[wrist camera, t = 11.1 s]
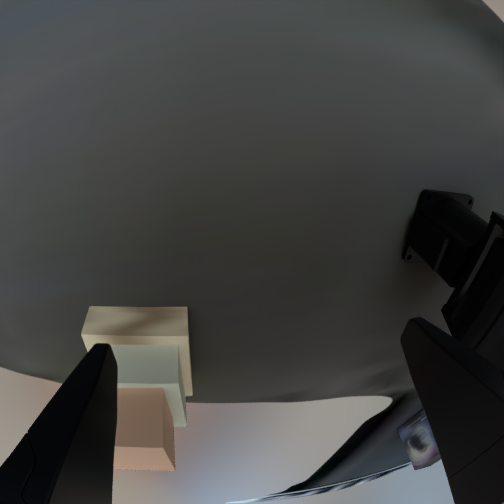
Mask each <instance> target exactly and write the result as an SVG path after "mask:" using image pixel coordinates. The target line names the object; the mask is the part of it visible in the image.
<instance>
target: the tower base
mask: <svg viewBox="0 0 504 504" xmlns="http://www.w3.org/2000/svg"><path fill="white" fill-rule="evenodd" d="M81 335H82V338H83V341H84V343H85V346H86V349H87V351H89V350H90V349H91V348H92V347H93V344H96V343H108V344H113V345H171V344H178V347H179V355H180V362H181V369H182V375H183V382H184V388H185V396H193V392H192V374H191V360H190V345H189V329H188V311H187V307H104V306H90V307H89V310H88V313H87V316H86V319H85V323H84V326H83V329H82V333H81Z"/></svg>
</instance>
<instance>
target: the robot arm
mask: <svg viewBox="0 0 504 504" xmlns="http://www.w3.org/2000/svg"><path fill="white" fill-rule="evenodd" d="M427 195H428V196H427ZM426 196H427V197H426ZM473 202H474V199H473V197H471V196H470V195H466V194H458V193H451V192H443V191H435V190H424V191H423V192H422V193H421V196H420V200H419V204H418V207H417V211H416V214H415V217H414V221H413V224H412V227H411V231H410V234H409V237H408V240H407V243H406V246H405V249H404V252H403V255H402V258H403V259H404V260H405V262H422V261H425V262H426V263H427V264H428V265H429V266H430V267H431V269H432V270H433V271H435V272H437V273H438V274H439V275H440V277H441V278H442V279H443V280H444V281H445V282H446V283H447V284H448V285H449V286H450V287H453V288H454V291H453V293H452V294H451V296H450V298H449V299H448V301H447V303H446V304H444V306H443V307H442V309H441V312H442V314H443V316H444V318H445V321H446V323H447V325H448V328H449V330H450V332H451V335H452V336H450V335H449V334H447V333H446V332H444V331H442V330H441V329H439V328H438V327H436V326H434V325H433V324H431V323H430V322H428V321H426V320H425V319H423V318H421V317H417V318H412V319H410V320H409V321H408V323H407V325H406V327H405V329H404V331H403V333H402V335H401V345H402V348H403V351H404V355H405V358H406V361H407V364H408V367H409V371H410V374H411V377H412V380H413V383H414V386H415V388H416V391H417V393H418V396H419V398H420V401H421V404H422V406H423V409H424V411H425V414H426V417H427V419H428V422H429V425H430V428H431V430H432V433H433V436H434V439H435V442H436V444H437V447H438V450H439V453H440V456H441V459H442V462H443V465H444V469H445V472H446V475H447V478H448V482H449V486H450V489H451V492H452V496H453V500H454V503H455V504H504V216H503V215H501V214H499V213H496V212H494V211H493V212H492V214H491V216H490V218H491V219H490V221H489V224H488V223H487V222H486V221H484V220H483V219H482V218H480V217H479V216H478V215H476V214H475V213H474V212H472V211H471V208H472V205H473ZM117 384H118V366H117V361H116V359H115V356H114V353H113V350H112V347H111V345H110V344H108V343H96V344H94V345H93V347H92V348H91V349H90V350H89V351H88V353H87V354H86V355H85V356H84V358H83V359H82V360H81V361H80V363H79V364H78V365H77V366H76V368H75V369H74V370H73V371H72V373H71V374H70V375H69V377H68V378H67V379H66V380H65V382H64V383H63V384H62V386H61V387H60V388H59V390H58V391H57V392H56V394H55V395H54V396H53V397H52V399H51V400H50V401H49V403H48V404H47V405H46V407H45V408H44V409H43V411H42V412H41V413H40V415H39V416H38V418H37V419H36V420H35V422H34V423H33V424H32V426H31V427H30V428H29V430H28V433H26V434H25V435H24V437H23V438H22V439H21V441H20V442H19V444H18V445H17V446H16V448H15V449H14V450H13V452H12V453H11V454H10V456H9V457H8V458H7V459H6V461H5V462H4V463H3V464H2V465H1V467H0V504H112V485H113V465H114V451H115V439H116V428H117Z"/></svg>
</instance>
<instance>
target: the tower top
mask: <svg viewBox="0 0 504 504" xmlns="http://www.w3.org/2000/svg"><path fill="white" fill-rule="evenodd" d="M93 345H94V344H93ZM110 345H111V347H112V350H113V353H114V356H115V359H116V361H117V366H118V384H117V388H163V390H164V393H165V396H166V399H167V402H168V405H169V408H170V411H171V413H172V416H173V425H174V427H187V419H186V399H185V388H184V382H183V375H182V369H181V362H180V355H179V347H178V344H171V345H113V344H110Z"/></svg>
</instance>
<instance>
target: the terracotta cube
mask: <svg viewBox="0 0 504 504" xmlns="http://www.w3.org/2000/svg"><path fill="white" fill-rule="evenodd" d="M113 467H114V468H117V469H132V470H175V451H174V425H173V416H172V413H171V411H170V408H169V405H168V402H167V399H166V396H165V393H164V390H163V388H117V428H116V439H115V451H114V465H113Z"/></svg>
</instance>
